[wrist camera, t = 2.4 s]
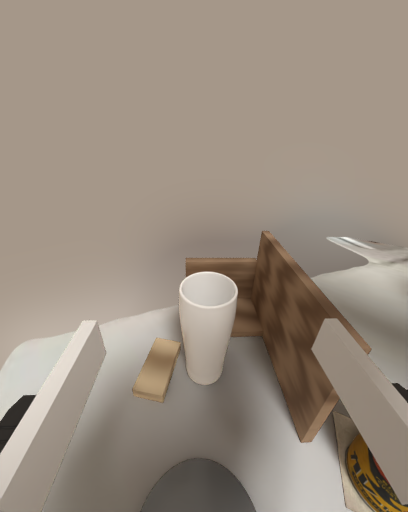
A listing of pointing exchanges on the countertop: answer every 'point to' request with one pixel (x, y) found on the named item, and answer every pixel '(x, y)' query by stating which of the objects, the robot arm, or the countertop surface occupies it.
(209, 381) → the drinking glass
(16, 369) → the countertop surface
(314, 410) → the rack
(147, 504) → the coaster
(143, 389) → the offcut flat
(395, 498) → the condiment
